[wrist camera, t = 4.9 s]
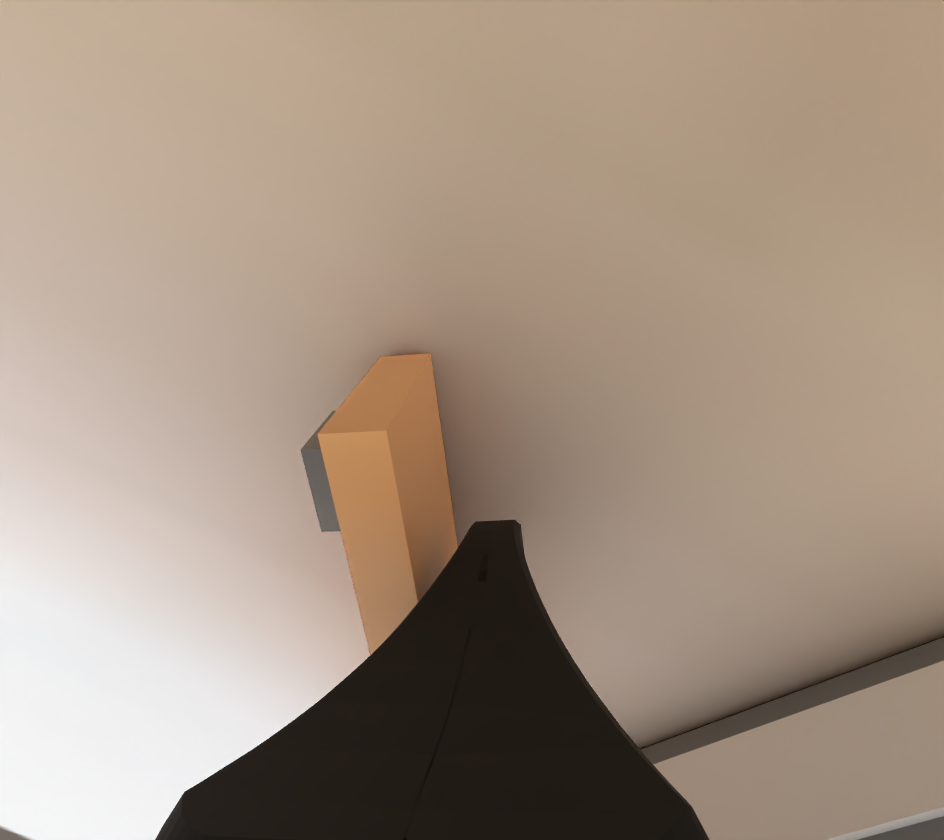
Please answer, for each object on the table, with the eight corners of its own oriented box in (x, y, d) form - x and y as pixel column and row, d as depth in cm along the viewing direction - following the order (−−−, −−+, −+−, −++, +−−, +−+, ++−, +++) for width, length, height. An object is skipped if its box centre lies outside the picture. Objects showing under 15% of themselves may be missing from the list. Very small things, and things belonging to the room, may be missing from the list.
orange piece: (430, 352, 11) (385, 430, 8) (494, 809, 17) (484, 962, 13) (341, 359, 11) (264, 436, 8) (434, 807, 17) (410, 956, 14)
